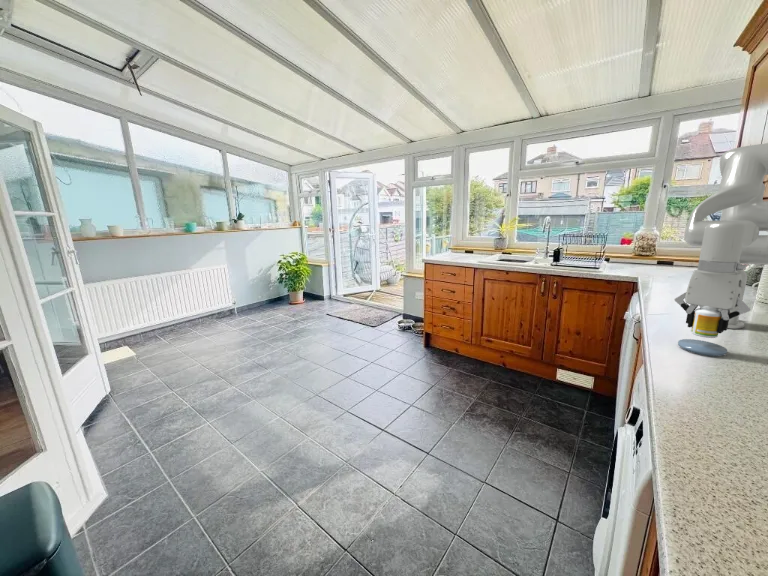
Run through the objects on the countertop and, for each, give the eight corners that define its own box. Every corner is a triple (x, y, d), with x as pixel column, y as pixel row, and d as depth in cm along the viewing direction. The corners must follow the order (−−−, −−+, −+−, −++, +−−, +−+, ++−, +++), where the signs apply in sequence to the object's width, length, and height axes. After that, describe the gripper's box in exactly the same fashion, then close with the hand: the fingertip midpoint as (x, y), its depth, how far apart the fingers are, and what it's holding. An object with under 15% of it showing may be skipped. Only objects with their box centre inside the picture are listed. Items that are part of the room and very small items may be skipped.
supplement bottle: (723, 339, 86) (730, 305, 84) (700, 338, 87) (706, 305, 85) (707, 332, 91) (713, 300, 89) (686, 331, 92) (691, 300, 90)
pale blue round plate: (684, 341, 97) (684, 336, 96) (730, 351, 88) (731, 346, 88) (672, 348, 92) (673, 344, 91) (720, 360, 83) (721, 355, 83)
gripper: (768, 269, 80) (753, 335, 83) (680, 263, 94) (671, 319, 98) (762, 272, 76) (746, 341, 79) (671, 265, 90) (661, 324, 94)
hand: (705, 328), depth 89 cm, fingers closed on supplement bottle, 5 cm apart
